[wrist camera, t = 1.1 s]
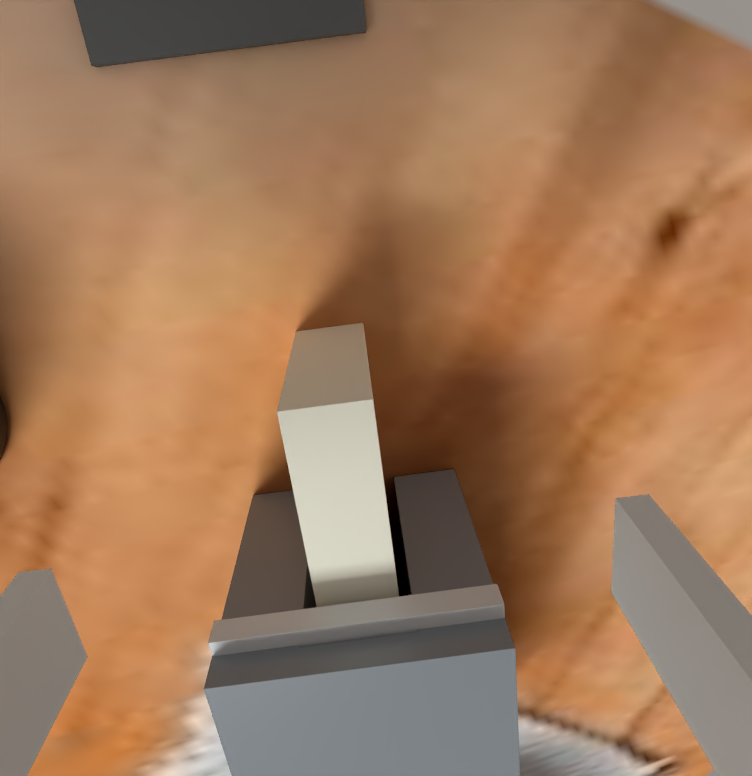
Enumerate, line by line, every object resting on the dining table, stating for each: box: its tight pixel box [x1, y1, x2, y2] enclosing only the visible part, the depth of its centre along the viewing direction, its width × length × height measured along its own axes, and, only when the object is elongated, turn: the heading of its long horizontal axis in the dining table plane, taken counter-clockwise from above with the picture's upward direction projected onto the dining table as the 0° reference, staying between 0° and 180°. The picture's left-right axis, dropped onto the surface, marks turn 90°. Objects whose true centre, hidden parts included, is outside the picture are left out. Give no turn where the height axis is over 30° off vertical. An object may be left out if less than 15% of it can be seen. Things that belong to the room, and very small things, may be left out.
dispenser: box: [204, 469, 520, 776], centre depth 27 cm, size 10×17×11 cm, turn 7°
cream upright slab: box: [277, 323, 399, 607], centre depth 25 cm, size 3×13×8 cm, turn 7°
